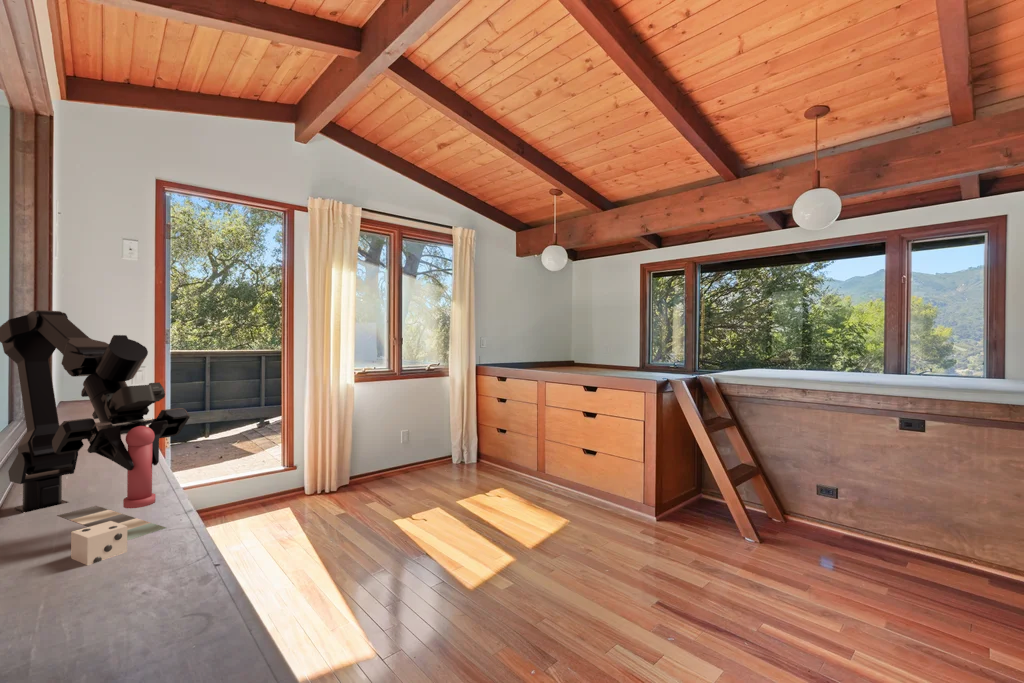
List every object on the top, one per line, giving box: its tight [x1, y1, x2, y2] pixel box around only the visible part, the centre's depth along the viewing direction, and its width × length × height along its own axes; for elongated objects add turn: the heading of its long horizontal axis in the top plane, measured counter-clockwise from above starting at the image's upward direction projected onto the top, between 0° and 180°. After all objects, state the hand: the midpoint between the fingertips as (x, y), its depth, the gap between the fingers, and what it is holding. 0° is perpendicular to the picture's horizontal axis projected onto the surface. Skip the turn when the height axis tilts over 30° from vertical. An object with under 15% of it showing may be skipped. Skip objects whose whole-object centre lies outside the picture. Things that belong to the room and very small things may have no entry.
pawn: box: [122, 426, 156, 509], centre depth 82 cm, size 4×4×14 cm
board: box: [56, 505, 167, 541], centre depth 87 cm, size 25×7×1 cm, turn 64°
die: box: [70, 521, 128, 566], centre depth 73 cm, size 5×5×5 cm
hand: (144, 466), depth 82 cm, fingers closed on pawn, 3 cm apart
